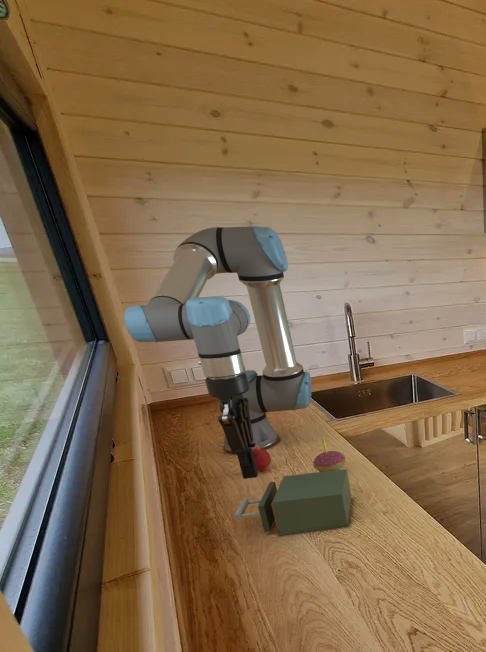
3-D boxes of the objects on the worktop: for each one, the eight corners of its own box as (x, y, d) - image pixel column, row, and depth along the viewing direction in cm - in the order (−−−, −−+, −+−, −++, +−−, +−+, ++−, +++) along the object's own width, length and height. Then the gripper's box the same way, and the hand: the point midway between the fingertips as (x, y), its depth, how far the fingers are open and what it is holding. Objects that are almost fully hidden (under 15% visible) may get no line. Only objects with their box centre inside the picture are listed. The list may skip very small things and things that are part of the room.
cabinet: (279, 535, 110) (272, 502, 106) (290, 506, 121) (283, 476, 118) (347, 526, 112) (341, 493, 109) (351, 499, 124) (346, 469, 120)
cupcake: (310, 476, 136) (302, 437, 131) (338, 466, 141) (332, 428, 137) (325, 486, 130) (317, 445, 126) (354, 475, 136) (347, 435, 131)
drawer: (233, 536, 108) (226, 510, 105) (247, 509, 118) (241, 485, 116) (327, 524, 112) (322, 498, 109) (333, 499, 122) (328, 475, 119)
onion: (264, 477, 136) (258, 451, 133) (246, 475, 137) (239, 449, 134) (277, 467, 141) (271, 442, 138) (260, 466, 142) (254, 441, 139)
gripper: (215, 368, 106) (241, 466, 115) (193, 385, 94) (223, 492, 103) (253, 365, 107) (275, 462, 116) (235, 382, 95) (261, 488, 104)
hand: (250, 476), depth 109 cm, fingers closed
